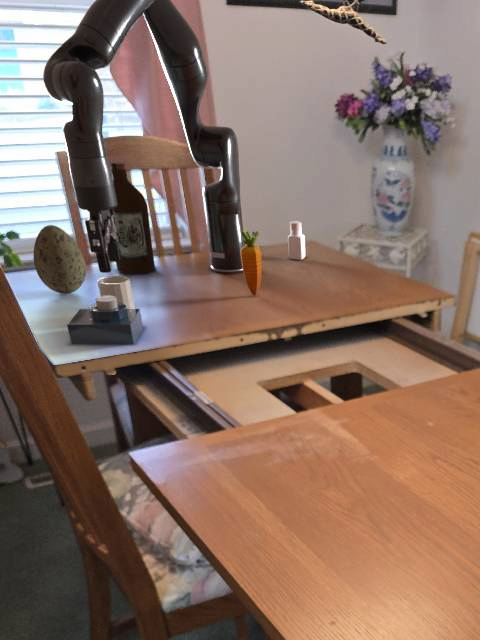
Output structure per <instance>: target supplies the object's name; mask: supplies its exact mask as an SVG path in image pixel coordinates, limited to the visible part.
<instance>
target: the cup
mask: <svg viewBox="0 0 480 640" xmlns="http://www.w3.org/2000/svg"><path fill="white" fill-rule="evenodd" d="M97 286H98V291H99V295H100V296H115V297H116V298H117V302H121V303H124V304H125V305H126V307H127V309H136V306H135V301H134V296H133V295H134V294H133V290H132V284H131V279H130V277H128V276H124V275H108V276H107V275H106V276H103V277H100V278H98V279H97ZM100 296H99V297H100Z"/></svg>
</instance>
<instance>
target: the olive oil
mask: <svg viewBox="0 0 480 640" xmlns="http://www.w3.org/2000/svg"><path fill="white" fill-rule="evenodd" d="M125 166H126V164H125V162H121V161H113V162H110V168H111V172H112V178H113V183H114V188H115V193H116V199H117V207H116V208H114V213H115V218H116V222H117V227H118V232H119V237H117V238H118V242H116V243H117V245H118V250H119V256H120V260H119V261H118V262H115V264H116V270H117V271H118V272H119V273H122V274H127V275H140V274H146V273H150V272H153V271H154V270H155V268H156V265H155V258H154V257H155V256H154V252H153V251H154V250H153V242H152V234H151V227H150V226H151V225H150V216H149V215H150V214H149V209H148V203H147V201H146V199H145V196H144V195H143V194H142V192H141V191H139V189H138V188H136V187H135V186H134V184H132V182H130V180H129V179H128V173H127V169H126V167H125Z"/></svg>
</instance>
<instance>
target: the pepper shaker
mask: <svg viewBox="0 0 480 640" xmlns="http://www.w3.org/2000/svg"><path fill="white" fill-rule="evenodd" d="M289 230H290V234H288V236H287V245H288V246H287V247H288V258H289V259H290V260H299V261H301V260H303V259H304V258H306V239H305V237H306V235H305V234H303V231H302V221H295V220H294V221H293V220H292V221H290V222H289Z"/></svg>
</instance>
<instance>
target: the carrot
mask: <svg viewBox="0 0 480 640" xmlns="http://www.w3.org/2000/svg"><path fill="white" fill-rule="evenodd" d="M241 233H242V235H243V237H244V240H242V241H243V242H244V243H245V246H243V247H242V248H241V250H240V253H241V261H242V268H243V271H242V272H243V277H244V279H245V283H246V286H247V288H248V289H249V292H250V293H251V294H252V296H254V297H256V295H257V294H258V292H259V289H260V287H261V283H262V274H263V266H262V265H263V261H262V251H261V249H260V247H259V246H258V245H255V244H256V241H257V239H258V237H259V235H260V232H259V231H255V234H254V236H253V237H252V235H251V234H250V232H249V231H246V230H245V229H243V230H242V231H241ZM251 238H252V239H251Z"/></svg>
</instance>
